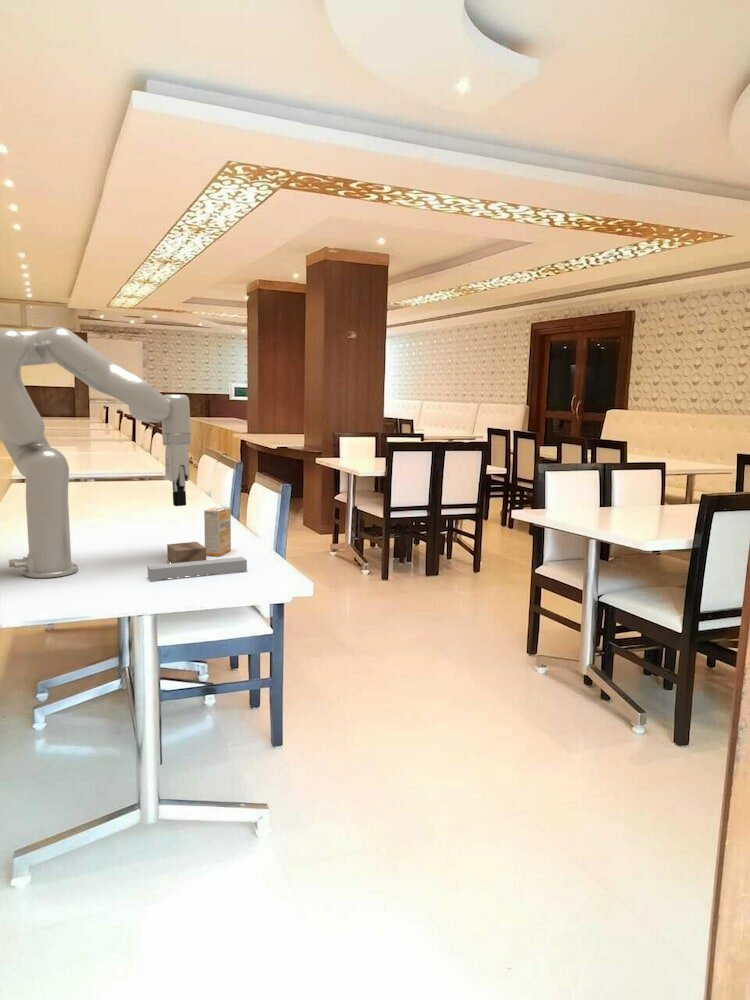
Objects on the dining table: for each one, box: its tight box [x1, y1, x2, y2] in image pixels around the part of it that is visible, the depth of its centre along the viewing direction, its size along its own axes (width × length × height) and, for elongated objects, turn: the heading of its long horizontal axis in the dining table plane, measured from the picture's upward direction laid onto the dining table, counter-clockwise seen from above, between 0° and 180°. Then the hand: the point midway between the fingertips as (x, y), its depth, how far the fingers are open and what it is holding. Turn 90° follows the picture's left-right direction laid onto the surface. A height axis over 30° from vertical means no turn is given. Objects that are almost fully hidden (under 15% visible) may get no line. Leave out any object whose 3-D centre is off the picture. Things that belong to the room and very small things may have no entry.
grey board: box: [147, 556, 248, 582], centre depth 173 cm, size 24×4×3 cm, turn 118°
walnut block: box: [166, 541, 207, 563], centre depth 185 cm, size 8×9×5 cm
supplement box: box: [203, 506, 232, 557], centre depth 197 cm, size 8×5×13 cm, turn 168°
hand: (179, 505), depth 192 cm, fingers closed
